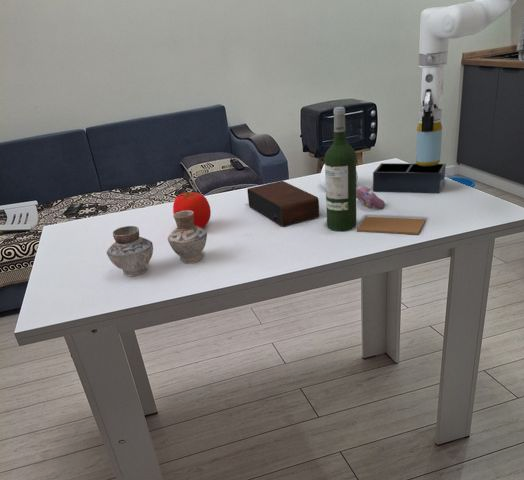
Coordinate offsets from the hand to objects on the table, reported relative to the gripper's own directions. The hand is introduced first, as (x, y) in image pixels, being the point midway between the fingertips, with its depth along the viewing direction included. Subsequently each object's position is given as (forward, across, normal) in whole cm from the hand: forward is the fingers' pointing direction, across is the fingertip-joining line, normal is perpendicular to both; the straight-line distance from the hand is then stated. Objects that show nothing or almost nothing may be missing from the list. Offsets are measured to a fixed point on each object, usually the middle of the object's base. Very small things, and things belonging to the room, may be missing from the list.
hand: (429, 127), depth 157 cm
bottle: (+10, 0, 0) cm, 10 cm away
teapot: (+17, -2, +28) cm, 33 cm away
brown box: (+17, -27, +38) cm, 49 cm away
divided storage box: (+18, 0, +6) cm, 18 cm away
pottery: (+17, -69, +54) cm, 89 cm away
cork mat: (+18, -34, +4) cm, 38 cm away
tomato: (+17, -44, +59) cm, 75 cm away
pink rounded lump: (+18, -19, +14) cm, 29 cm away
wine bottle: (+18, -36, +17) cm, 43 cm away
